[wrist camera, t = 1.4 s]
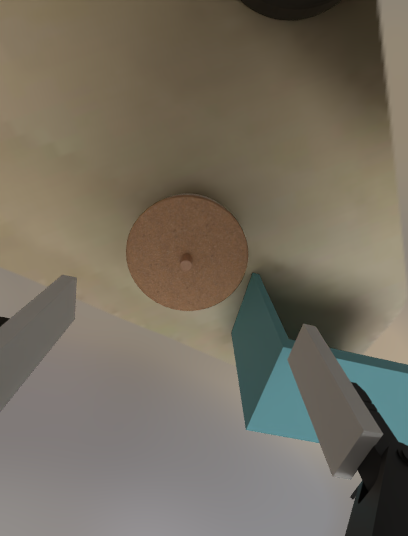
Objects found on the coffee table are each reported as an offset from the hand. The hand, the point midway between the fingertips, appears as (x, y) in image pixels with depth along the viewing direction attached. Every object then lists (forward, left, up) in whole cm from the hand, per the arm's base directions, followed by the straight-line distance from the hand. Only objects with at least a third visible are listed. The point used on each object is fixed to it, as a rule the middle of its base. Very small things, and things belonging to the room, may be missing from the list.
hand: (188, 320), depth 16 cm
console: (+7, +15, -17) cm, 24 cm away
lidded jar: (0, -1, -17) cm, 17 cm away
